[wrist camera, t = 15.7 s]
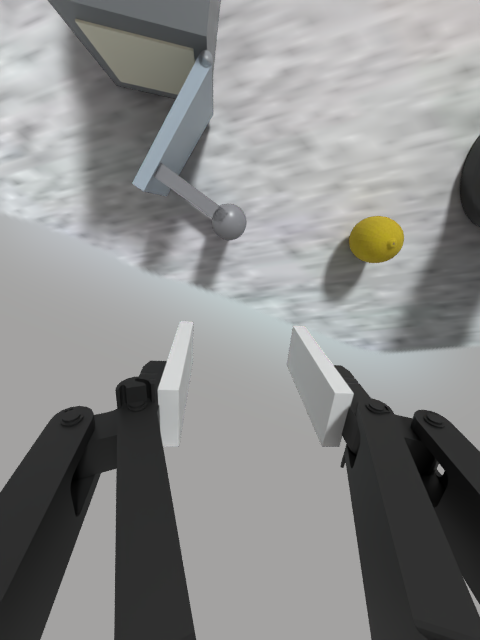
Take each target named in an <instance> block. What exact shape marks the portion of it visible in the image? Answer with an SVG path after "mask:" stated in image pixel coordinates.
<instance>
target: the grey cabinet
mask: <svg viewBox="0 0 480 640" xmlns="http://www.w3.org/2000/svg"><path fill="white" fill-rule="evenodd" d="M48 1H49V3H50V4H51V5H52V6H53V8H54V9H55V10H56V11H57V12H58V14H59V15H60V16H61V17H62V19H63V20H64V21H65V22H66V24H67V25H68V26H69V27H70V29H71V30H72V31H73V32H74V33H75V35H76V36H77V37H78V38H79V40H80V41H81V42H82V43H83V45H84V46H85V47H86V48H87V50H88V51H89V52H90V53H91V54H92V56H93V57H94V58H95V59H96V61H97V62H98V63H99V64H100V66H101V67H102V68H103V69H104V71H105V72H106V73H107V74H108V75H109V77H110V78H111V79H112V80H113V82H114V83H115V84H116V85H117V86H121V87H126V88H130V89H135V90H139V91H143V92H148V93H152V94H157V95H161V96H166V97H170V98H174V99H176V98H177V96H178V94H179V92H180V90H181V88H182V87H183V85H184V83H185V81H186V79H187V77H188V75H189V73H190V71H191V69H192V67H193V65H194V64H195V62H196V60H197V58H198V56H199V54H200V52H201V51H203V50H207V51H209V52H210V53H211V54H212V57H213V70H214V60H215V50H216V40H217V31H218V21H219V11H220V2H221V0H48Z"/></svg>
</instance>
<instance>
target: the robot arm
mask: <svg viewBox="0 0 480 640" xmlns="http://www.w3.org/2000/svg"><path fill="white" fill-rule="evenodd" d="M460 194H461V201H462V205H463V208H464V211H465V213H466V214H467V216H468V217H469V219H470V220H471V221H472V222H473V223H474V224H476V225H477V226H479V227H480V136H479V138H478V139H477V141H476V142H475V144H474V145H473V147H472V149H471V151H470V153H469V155H468V157H467V160H466V162H465V165H464V169H463V172H462V177H461V185H460ZM192 364H193V322H191V321H180V323H179V326H178V329H177V332H176V335H175V338H174V342H173V345H172V348H171V351H170V354H169V357H168V360H167V361H150V362H148V363H147V364H146V365H145V366H143V369H142V371H141V374H140V375H139V377H132V378H128V379H126V380H124V381H122V382H120V383H119V384H118V385H117V387H116V399H117V409H116V410H114V411H111V412H107V413H102V414H97V415H94V414H93V412H92V410H91V409H90V408H88V407H83V406H77V407H70V408H68V409H65V410H62V411H61V412H59V413H57V414H56V415H55V416H54V417H53V418H52V419H51V420H50V421H49V423H48V424H47V426H46V427H45V429H44V430H43V431H42V433H41V435H40V436H39V437H38V439H37V440H36V442H35V443H34V444H33V446H32V447H31V449H30V450H29V452H28V453H27V455H26V456H25V457H24V459H23V461H22V462H21V463H20V465H19V466H18V468H17V469H16V471H15V472H14V474H13V475H12V476H11V478H10V479H9V481H8V482H7V484H6V485H5V487H4V488H3V490H2V491H1V492H0V640H40V639H41V636H42V633H43V630H44V628H45V625H46V622H47V620H48V617H49V614H50V611H51V609H52V606H53V603H54V600H55V597H56V595H57V592H58V589H59V587H60V584H61V581H62V578H63V576H64V573H65V570H66V568H67V565H68V562H69V559H70V556H71V554H72V551H73V548H74V545H75V543H76V540H77V537H78V535H79V531H80V529H81V526H82V524H83V521H84V518H85V515H86V513H87V510H88V507H89V504H90V502H91V499H92V496H93V493H94V491H95V488H96V485H97V482H98V480H99V477H100V474H101V473H102V472H106V471H109V470H112V469H116V468H117V484H116V487H117V488H116V558H115V561H116V562H115V563H116V564H115V633H114V635H115V636H114V640H196V636H195V631H194V625H193V619H192V614H191V608H190V602H189V596H188V590H187V585H186V578H185V573H184V567H183V561H182V555H181V549H180V544H179V538H178V532H177V526H176V520H175V515H174V508H173V503H172V497H171V491H170V485H169V479H168V473H167V467H166V463H165V456H164V450H163V447H165V446H166V447H179V444H180V438H181V432H182V425H183V420H184V413H185V407H186V401H187V395H188V388H189V382H190V376H191V370H192ZM287 367H288V369H289V371H290V373H291V376H292V378H293V381H294V383H295V385H296V388H297V390H298V392H299V394H300V397H301V399H302V401H303V404H304V406H305V408H306V411H307V413H308V415H309V417H310V420H311V422H312V425H313V427H314V429H315V432H316V434H317V436H318V438H319V441H320V443H321V445H322V447H325V446H326V447H328V446H329V447H339V445H340V442H341V438H342V436H343V438H344V440H345V441H346V443H347V444H346V448H345V452H344V455H343V458H342V462H341V467H342V468H343V467H344V464H345V463H346V466H347V473H348V481H349V487H350V494H351V501H352V508H353V514H354V522H355V528H356V536H357V542H358V548H359V555H360V563H361V570H362V576H363V584H364V590H365V597H366V604H367V611H368V618H369V624H370V632H371V639H372V640H480V617H479V614H478V612H477V610H476V607H475V605H474V603H473V600H472V598H471V595H470V593H469V591H468V588H467V586H466V584H465V581H466V583H467V584H468V586H469V588H470V589H471V591H472V592H473V594H474V596H475V597H476V599H477V601H478V602H479V604H480V452H479V451H478V450H477V449H476V447H474V446H473V444H471V442H469V441H468V440H467V438H465V436H463V434H462V433H461V432H460V431H459V430H458V429H457V428H455V426H454V425H453V424H452V423H451V422H449V421H448V420H447V419H446V418H444V417H443V416H441V415H439V414H437V413H435V412H432V411H427V410H418V411H416V412H415V414H414V416H413V419H412V418H408V417H403V416H398V415H395V414H394V413H393V411H392V410H391V408H390V407H389V406H387V405H386V404H385V403H382V402H381V401H379V400H375V399H371V398H370V397H369V395H368V394H367V393H366V392H365V390H364V389H363V388H362V387H361V385H360V384H358V381H357V380H356V379H354V376H353V375H352V374H351V373H350V371H348V370H347V369H345V368H344V367H343V366H336V365H333V364H332V363H331V361H330V360H329V359H328V357H327V356H326V354H325V353H324V352H323V350H322V349H321V348H320V346H319V345H318V343H317V342H316V341H315V339H314V338H313V337H312V335H311V334H310V332H309V331H308V330H307V328H306V327H305V326H293V329H292V336H291V341H290V348H289V354H288V360H287ZM438 464H440V465H441V466H442V467H443V469H444V470H445V472H444V474H443V475H441V474H440V473H439V472H438V470H437V467H438ZM463 578H464V579H465V581H464V579H463Z"/></svg>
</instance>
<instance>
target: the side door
mask: <svg viewBox="0 0 480 640" xmlns="http://www.w3.org/2000/svg"><path fill="white" fill-rule="evenodd" d="M212 116H213V57H212V54H211V53H210V52H209V51H207V50H203V51H201V52H200V54H199V56H198V58H197V60H196V62H195V64H194V65H193V67H192V69H191V71H190V73H189V75H188V77H187V79H186V81H185V83H184V85H183V87H182V88H181V90H180V92H179V94H178V96H177V98H176V100H175V102H174V104H173V106H172V108H171V110H170V111H169V113H168V115H167V117H166V119H165V121H164V123H163V125H162V127H161V129H160V131H159V133H158V135H157V136H156V138H155V140H154V142H153V144H152V146H151V148H150V150H149V152H148V154H147V156H146V158H145V159H144V161H143V163H142V165H141V167H140V169H139V171H138V173H137V175H136V177H135V179H134V181H133V182H132V184H134V185H135V186H136V187H138V188H139V189H141V190H142V191H144V192H148V193H153V194H158V195H163V196H167V195H168V193H169V192H170V190H171V189H172V190H173V191H175V192H176V193H177V194H179V195H180V196H181V197H183V198H184V199H186V200H187V201H188V202H190V203H191V204H193V205H194V206H195V207H197V208H198V209H199V210H201V211H202V212H204V213H205V214H206V215H208V216H209V217H211V218H212V226H213V229H214V231H215V233H216V234H217V235H218V236H219V237H220V238H222V239H225V240H234V239H237V238H238V237H240V236H241V235H242V234H243V232H244V230H245V228H246V216H245V214H244V212H243V210H242V209H241V208H240V207H238V206H236V205H234V204H223V205H220V206H219V205H217V204H216V203H215V202H213V201H212V200H211V199H209V198H208V197H207V196H205V195H204V194H203V193H201V192H200V191H199V190H197V189H196V188H194V187H193V186H192V185H190V184H189V183H188V182H186V181H185V180H184V179H182V178H181V177H180V176H179V174H180V172H181V170H182V169H183V167H184V165H185V163H186V162H187V160H188V158H189V156H190V154H191V153H192V151H193V149H194V147H195V146H196V144H197V142H198V140H199V139H200V137H201V135H202V133H203V131H204V130H205V128H206V126H207V124H208V123H209V121H210V119H211V117H212Z"/></svg>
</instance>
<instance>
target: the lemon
mask: <svg viewBox="0 0 480 640" xmlns="http://www.w3.org/2000/svg"><path fill="white" fill-rule="evenodd" d="M403 242H404V234H403V230H402V229H401V227H400V226H399V225H398V224H397V223H396V222H395V221H394V220H392V219H390V218H387V217H382V216H374V217H369V218H366V219H364V220H362V221H360V222H359V223H358V224H357V225H356V226H355V227H354V228H353V230H352V232H351V234H350V237H349V245H350V249H351V251H352V253H353V254H354V255H355V256H356V257H357V258H359V259H360V260H362V261H365V262H369V263H380V262H384V261H388V260H389V259H391V258H393V257H394V256H395V255H396V254H397V253H398V252H399V251H400V249H401V248H402V245H403Z"/></svg>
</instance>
